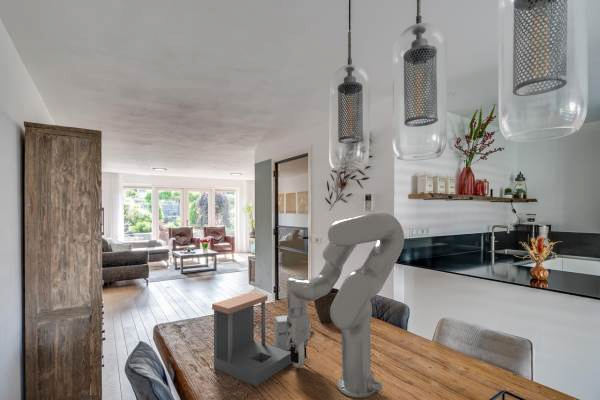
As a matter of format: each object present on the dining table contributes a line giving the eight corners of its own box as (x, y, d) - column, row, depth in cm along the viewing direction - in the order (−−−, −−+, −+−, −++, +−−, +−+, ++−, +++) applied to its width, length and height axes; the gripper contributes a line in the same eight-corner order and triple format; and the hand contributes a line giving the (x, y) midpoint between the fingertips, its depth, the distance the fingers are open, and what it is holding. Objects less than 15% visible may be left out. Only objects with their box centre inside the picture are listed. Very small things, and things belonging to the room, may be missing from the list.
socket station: (292, 362, 122) (292, 300, 123) (255, 387, 105) (254, 315, 106) (251, 347, 135) (251, 292, 136) (211, 367, 118) (212, 304, 119)
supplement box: (277, 352, 131) (277, 321, 131) (274, 344, 138) (274, 316, 138) (294, 350, 133) (294, 320, 133) (290, 342, 140) (290, 314, 140)
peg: (307, 363, 118) (306, 336, 118) (300, 368, 114) (299, 340, 115) (297, 360, 120) (296, 334, 121) (290, 365, 117) (289, 337, 117)
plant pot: (307, 318, 172) (307, 288, 172) (331, 314, 178) (330, 286, 179) (320, 327, 158) (320, 295, 159) (345, 322, 165) (345, 292, 165)
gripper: (291, 318, 109) (293, 371, 108) (317, 306, 123) (319, 353, 122) (275, 315, 114) (276, 366, 113) (301, 303, 127) (303, 349, 126)
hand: (298, 359), depth 117 cm, fingers closed on peg, 4 cm apart
